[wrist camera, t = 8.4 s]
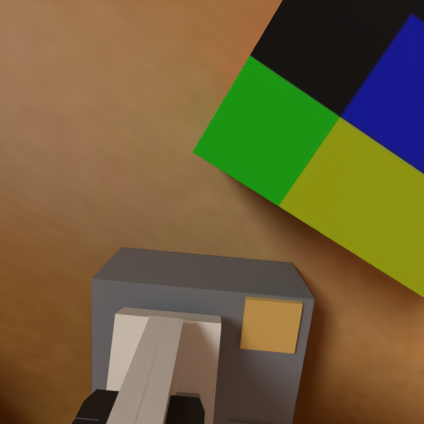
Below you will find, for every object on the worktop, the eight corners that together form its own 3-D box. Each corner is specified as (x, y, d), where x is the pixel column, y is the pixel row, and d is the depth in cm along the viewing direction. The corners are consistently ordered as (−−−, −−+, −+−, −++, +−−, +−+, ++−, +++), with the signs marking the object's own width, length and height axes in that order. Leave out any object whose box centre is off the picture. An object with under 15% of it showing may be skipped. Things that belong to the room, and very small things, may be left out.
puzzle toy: (428, 94, 18) (670, 37, 8) (330, 227, 20) (434, 304, 10) (295, -1, 17) (396, -191, 7) (205, 148, 19) (192, 152, 9)
